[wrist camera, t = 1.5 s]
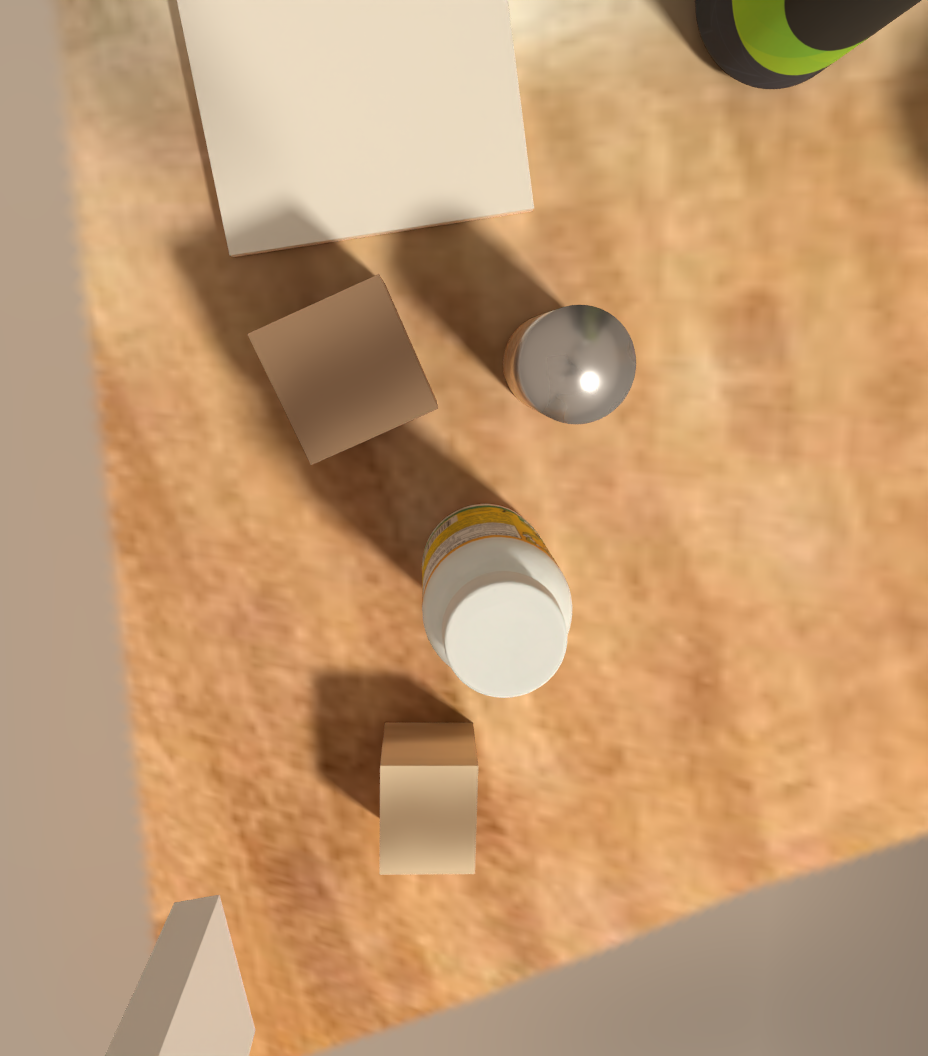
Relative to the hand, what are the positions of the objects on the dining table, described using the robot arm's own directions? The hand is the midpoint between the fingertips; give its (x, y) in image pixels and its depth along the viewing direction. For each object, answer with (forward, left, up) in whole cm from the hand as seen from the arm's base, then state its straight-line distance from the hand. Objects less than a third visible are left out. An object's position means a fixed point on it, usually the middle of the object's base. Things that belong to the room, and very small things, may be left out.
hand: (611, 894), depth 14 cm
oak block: (+9, -5, -22) cm, 24 cm away
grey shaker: (-8, +3, -22) cm, 24 cm away
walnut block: (-9, -5, -22) cm, 24 cm away
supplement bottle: (0, -1, -22) cm, 22 cm away
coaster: (-20, -3, -22) cm, 30 cm away
